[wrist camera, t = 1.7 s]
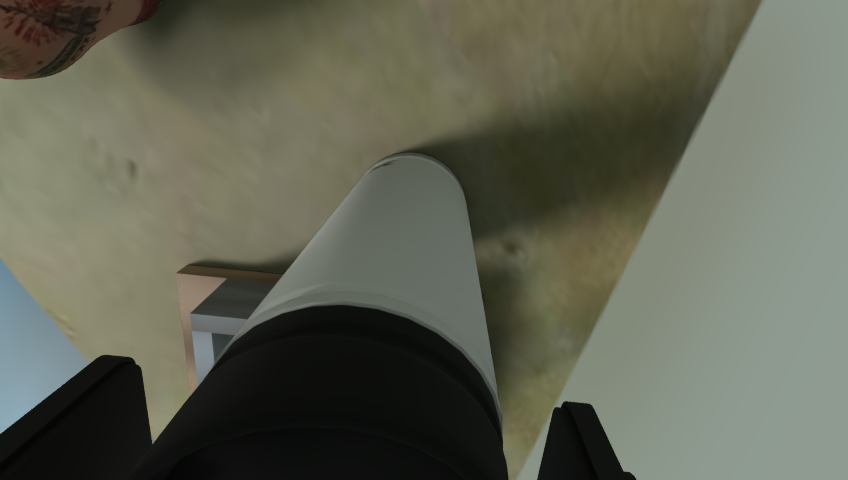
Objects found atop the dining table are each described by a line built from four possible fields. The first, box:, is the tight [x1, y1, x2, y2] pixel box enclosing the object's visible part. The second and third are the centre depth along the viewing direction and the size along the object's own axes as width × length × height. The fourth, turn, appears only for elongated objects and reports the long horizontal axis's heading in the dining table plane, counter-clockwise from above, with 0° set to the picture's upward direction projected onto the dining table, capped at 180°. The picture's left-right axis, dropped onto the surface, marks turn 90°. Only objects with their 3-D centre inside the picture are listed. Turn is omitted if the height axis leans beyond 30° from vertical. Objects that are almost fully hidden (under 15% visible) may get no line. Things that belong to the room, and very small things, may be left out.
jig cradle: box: [176, 265, 485, 394], centre depth 26 cm, size 12×18×5 cm, turn 85°
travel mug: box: [124, 152, 508, 480], centre depth 15 cm, size 6×7×20 cm
